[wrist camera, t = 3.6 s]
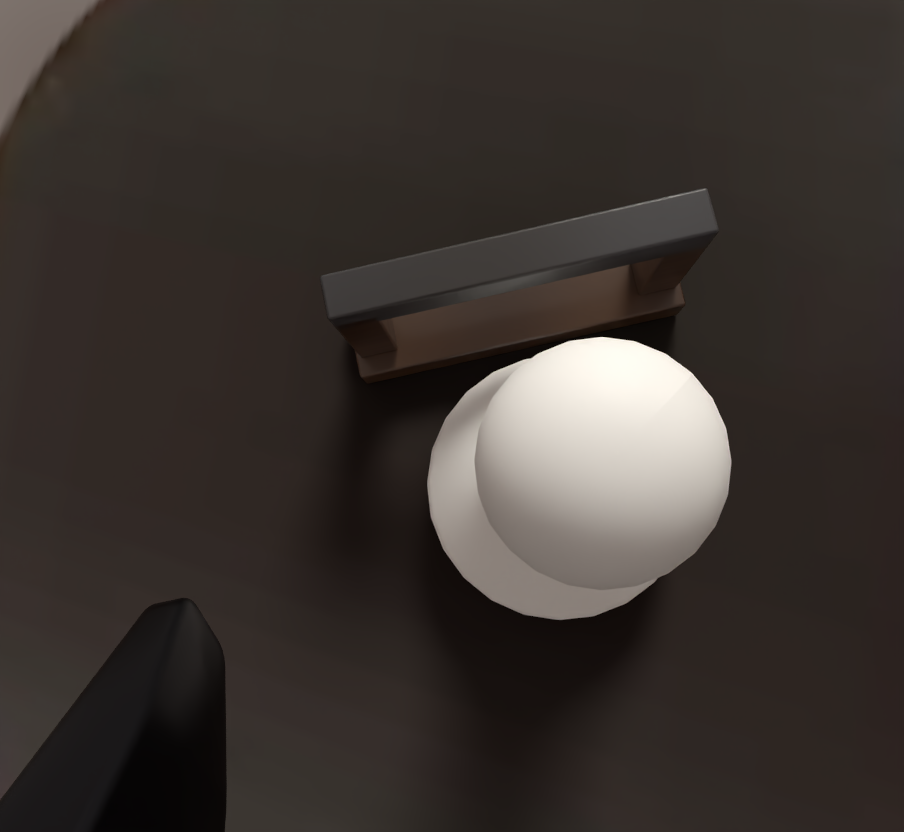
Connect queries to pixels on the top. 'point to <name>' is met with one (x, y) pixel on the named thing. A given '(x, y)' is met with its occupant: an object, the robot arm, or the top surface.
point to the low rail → (520, 287)
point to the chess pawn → (578, 477)
